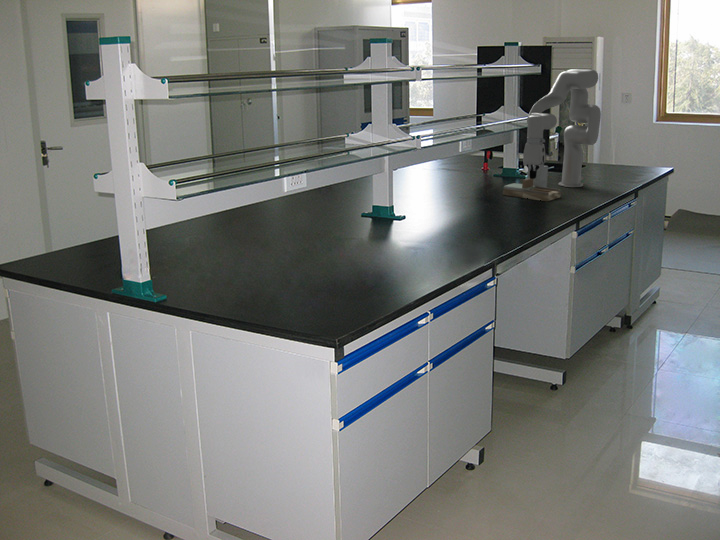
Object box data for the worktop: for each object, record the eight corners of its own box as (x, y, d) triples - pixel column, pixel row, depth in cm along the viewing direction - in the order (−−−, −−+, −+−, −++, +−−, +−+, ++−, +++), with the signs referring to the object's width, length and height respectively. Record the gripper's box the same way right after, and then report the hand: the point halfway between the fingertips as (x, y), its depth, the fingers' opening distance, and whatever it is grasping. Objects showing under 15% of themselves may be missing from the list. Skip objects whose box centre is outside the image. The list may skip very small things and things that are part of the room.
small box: (546, 191, 385) (548, 165, 381) (538, 192, 381) (540, 167, 378) (533, 188, 391) (535, 163, 387) (526, 190, 387) (527, 165, 384)
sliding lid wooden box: (517, 190, 386) (517, 183, 384) (560, 197, 370) (561, 189, 369) (502, 194, 376) (503, 186, 374) (546, 201, 360) (547, 193, 359)
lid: (513, 185, 384) (514, 175, 382) (535, 188, 376) (535, 178, 375) (503, 187, 377) (504, 177, 375) (524, 190, 369) (525, 180, 368)
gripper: (552, 141, 364) (550, 179, 369) (524, 138, 373) (523, 175, 379) (545, 143, 358) (542, 181, 364) (517, 140, 368) (515, 177, 373)
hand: (532, 178), depth 371 cm, fingers closed
